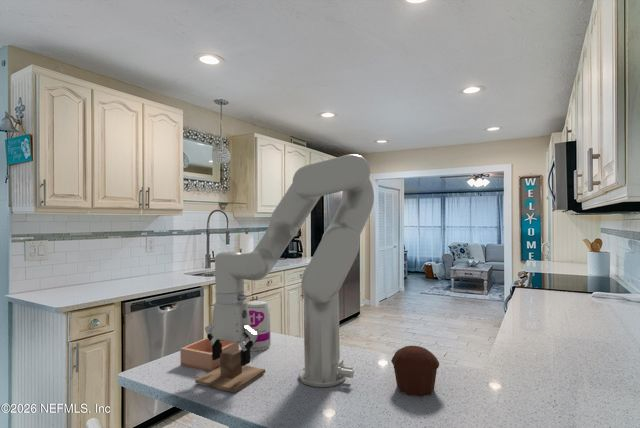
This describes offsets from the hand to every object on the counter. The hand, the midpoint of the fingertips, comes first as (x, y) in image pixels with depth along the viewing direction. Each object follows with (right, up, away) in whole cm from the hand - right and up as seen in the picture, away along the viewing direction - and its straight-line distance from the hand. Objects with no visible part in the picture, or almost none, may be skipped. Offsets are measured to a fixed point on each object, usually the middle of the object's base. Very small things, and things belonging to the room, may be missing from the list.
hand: (231, 361), depth 100 cm
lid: (0, -4, 0) cm, 4 cm away
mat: (0, -5, 0) cm, 5 cm away
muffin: (+48, -4, -7) cm, 49 cm away
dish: (-9, -5, +13) cm, 16 cm away
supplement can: (+3, -5, +24) cm, 25 cm away
